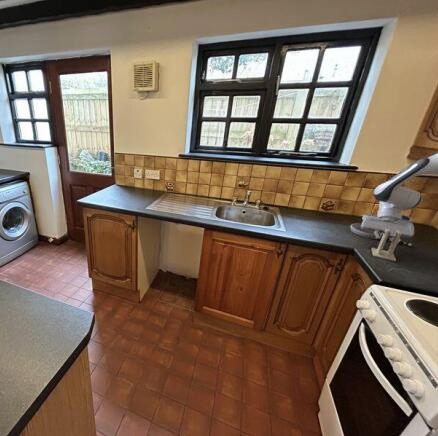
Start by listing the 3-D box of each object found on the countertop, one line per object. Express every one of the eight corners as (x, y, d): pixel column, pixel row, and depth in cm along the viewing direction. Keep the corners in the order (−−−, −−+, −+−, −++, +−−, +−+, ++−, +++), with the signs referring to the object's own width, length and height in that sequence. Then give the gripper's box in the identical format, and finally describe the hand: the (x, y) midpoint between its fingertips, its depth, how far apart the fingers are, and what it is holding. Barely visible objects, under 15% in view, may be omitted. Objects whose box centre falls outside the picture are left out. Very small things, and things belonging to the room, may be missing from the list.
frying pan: (410, 247, 126) (346, 226, 146) (407, 252, 127) (344, 231, 148) (416, 238, 135) (356, 220, 156) (414, 243, 137) (354, 224, 157)
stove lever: (378, 240, 129) (379, 234, 129) (387, 242, 127) (389, 236, 127) (387, 236, 117) (389, 229, 117) (397, 238, 115) (399, 231, 115)
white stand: (371, 249, 127) (381, 225, 122) (391, 254, 123) (402, 229, 118) (373, 257, 120) (384, 232, 115) (395, 262, 116) (407, 236, 110)
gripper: (364, 210, 133) (360, 232, 129) (417, 219, 122) (414, 243, 118) (361, 216, 138) (357, 237, 134) (411, 224, 127) (408, 248, 123)
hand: (384, 240), depth 126 cm, fingers closed on stove lever, 3 cm apart
